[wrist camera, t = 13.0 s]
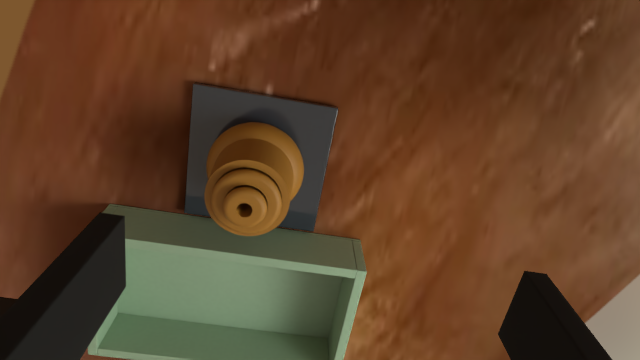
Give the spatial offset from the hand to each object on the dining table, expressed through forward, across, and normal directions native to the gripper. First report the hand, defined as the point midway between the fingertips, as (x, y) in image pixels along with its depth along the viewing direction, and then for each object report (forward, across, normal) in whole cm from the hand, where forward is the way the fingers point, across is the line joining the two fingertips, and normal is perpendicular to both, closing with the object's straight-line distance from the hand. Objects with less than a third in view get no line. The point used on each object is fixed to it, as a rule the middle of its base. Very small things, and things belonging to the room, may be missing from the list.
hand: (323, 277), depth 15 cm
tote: (+22, -6, -17) cm, 28 cm away
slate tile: (+22, -4, -5) cm, 23 cm away
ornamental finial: (+21, -4, -5) cm, 22 cm away
